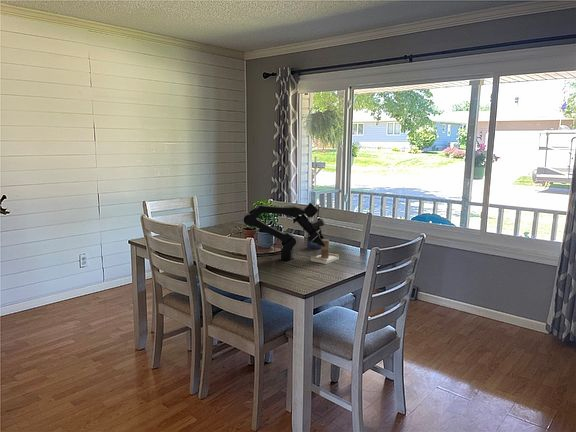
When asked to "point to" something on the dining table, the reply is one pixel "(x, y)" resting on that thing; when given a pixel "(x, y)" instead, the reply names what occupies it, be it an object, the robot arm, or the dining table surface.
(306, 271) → the dining table surface
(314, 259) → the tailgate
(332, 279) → the dining table surface
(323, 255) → the walnut block
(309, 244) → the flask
